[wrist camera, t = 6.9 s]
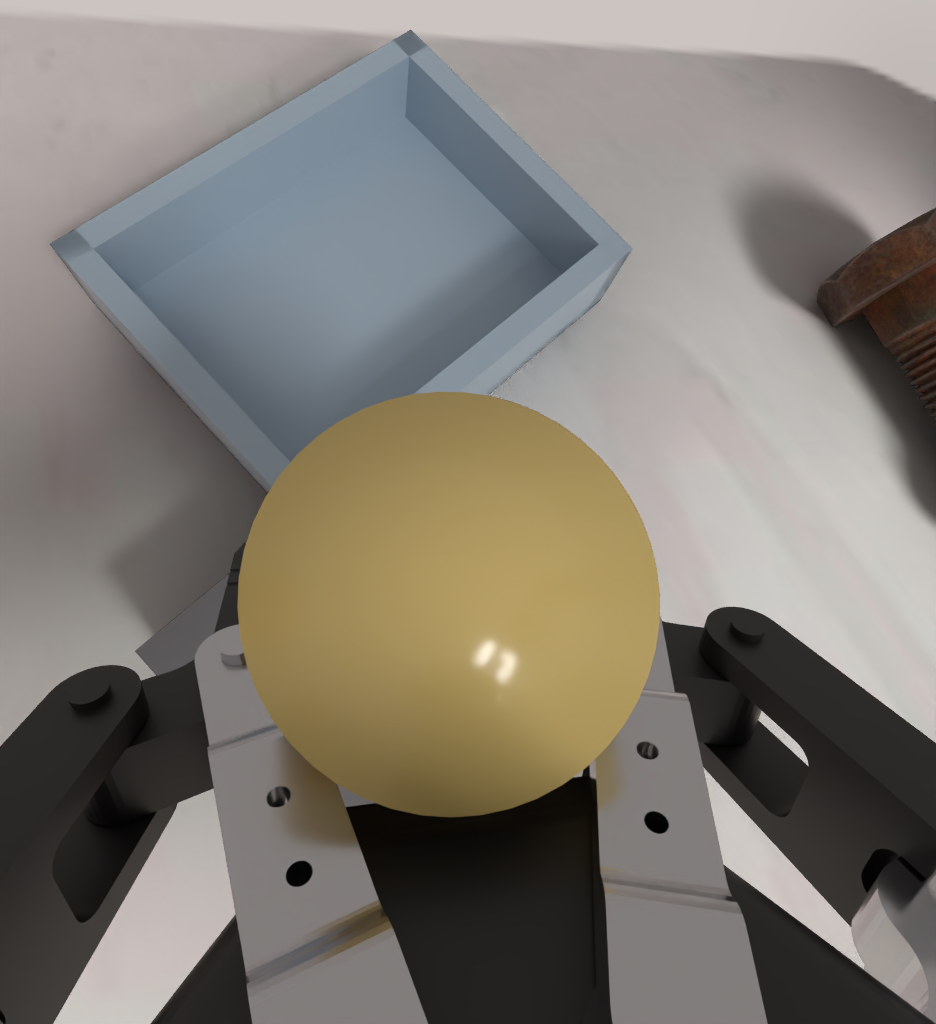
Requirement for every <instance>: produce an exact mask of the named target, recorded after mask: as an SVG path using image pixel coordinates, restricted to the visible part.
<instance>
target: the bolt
mask: <svg viewBox="0 0 936 1024" xmlns="http://www.w3.org/2000/svg"><path fill="white" fill-rule="evenodd" d="M817 303H818V304H819V306H820V308H821V309H822V311H823V312H824V314H825V316H826V317H827V319H828V321H829V322H830V324H831V325H832V327H833V328H834V327H837V326H839V325H841V324H844V323H846V322H848V321H850V320H852V319H855V318H857V317H859V316H861V315H865V317H866V318H867V320H868V322H869V323H870V325H871V327H872V328H873V330H874V332H875V333H876V335H877V336H878V338H879V340H880V341H881V343H882V345H883V346H884V347H885V348H887V349H889V351H890V352H891V354H892V355H895V356H897V358H896V362H901V363H904V364H903V365H902V366H901V367H900V369H901V370H909V372H908V373H907V374H906V375H905V377H906V378H914V379H913V380H912V381H911V382H910V385H919V386H918V387H917V388H916V389H915V392H917V393H923V394H922V396H921V397H920V398H919V399H920V400H926V401H928V402H927V403H926V405H925V406H924V407H925V408H927V409H933V411H932V412H931V413H930V414H929V416H930V417H936V208H934V209H933V210H931V211H929V212H927V213H925V214H923V215H921V216H919V217H917V218H915V219H914V220H912V221H910V222H908V223H907V224H905V225H903V226H902V227H900V228H898V229H897V230H895V231H893V232H891V233H890V234H888V235H886V236H885V237H883V238H881V239H880V240H878V241H876V242H875V243H873V244H872V245H870V246H869V247H868V248H866V249H865V250H864V251H862V252H861V253H860V254H858V255H857V256H856V257H854V258H853V259H851V260H850V261H849V262H847V263H846V264H845V265H843V266H842V267H841V268H840V269H838V270H837V271H836V272H835V273H834V274H833V275H832V276H830V277H829V278H828V279H827V280H826V281H825V282H824V283H822V284H821V285H820V287H819V290H818V295H817ZM934 425H936V421H935V422H934Z"/></svg>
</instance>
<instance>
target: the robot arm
mask: <svg viewBox="0 0 936 1024" xmlns="http://www.w3.org/2000/svg"><path fill="white" fill-rule="evenodd" d="M246 542H247V541H246ZM246 542H245V543H244V544H243V545H242V546H241V547H240V548H239V549H238V550H237V551H236V553H235V554H234V558H233V562H232V566H231V573H229V577H228V581H227V586H226V589H225V593H224V597H223V600H222V604H221V608H220V612H219V616H218V620H217V623H216V627H215V631H214V634H212V635H211V636H210V637H208V638H207V639H206V640H205V641H204V642H203V643H202V644H201V645H200V647H199V648H198V650H197V652H196V654H195V659H194V660H192V661H191V662H189V663H187V664H186V665H184V666H182V667H180V668H178V669H175V670H173V671H170V672H167V673H164V674H161V675H158V676H154V677H151V678H148V679H145V680H142V681H141V680H140V678H139V676H138V675H137V674H136V672H134V671H133V670H131V669H129V668H127V667H123V666H118V665H107V666H99V667H94V668H91V669H87V670H84V671H82V672H79V673H77V674H75V675H73V676H71V677H69V678H68V679H66V680H64V681H63V682H61V683H60V684H59V685H58V686H56V687H55V688H54V689H53V690H52V691H51V692H50V693H49V694H48V695H47V696H46V697H45V698H44V699H43V701H42V702H41V703H40V704H39V705H38V706H37V707H36V708H35V709H34V710H33V711H32V713H31V714H30V715H29V716H28V717H27V718H26V719H25V720H24V721H23V722H22V723H21V725H20V726H19V727H18V728H17V729H16V730H15V731H14V732H13V733H12V734H11V736H10V737H9V738H8V739H7V740H6V741H5V742H4V743H3V744H2V745H1V746H0V1024H53V1023H54V1021H55V1019H56V1017H57V1016H58V1014H59V1012H60V1010H61V1009H62V1007H63V1005H64V1003H65V1002H66V1000H67V998H68V997H69V995H70V993H71V991H72V990H73V988H74V986H75V984H76V983H77V981H78V979H79V977H80V976H81V974H82V972H83V970H84V969H85V967H86V965H87V963H88V962H89V960H90V958H91V956H92V955H93V953H94V951H95V949H96V948H97V946H98V944H99V942H100V941H101V939H102V937H103V935H104V934H105V932H106V930H107V928H108V927H109V925H110V923H111V922H112V920H113V918H114V916H115V915H116V913H117V911H118V909H119V908H120V906H121V904H122V902H123V901H124V899H125V897H126V895H127V894H128V892H129V890H130V888H131V887H132V885H133V883H134V881H135V880H136V878H137V876H138V874H139V873H140V871H141V869H142V867H143V866H144V864H145V862H146V860H147V859H148V857H149V855H150V853H151V852H152V850H153V848H154V846H155V845H156V843H157V841H158V840H159V838H160V836H161V834H162V833H163V831H164V829H165V827H166V826H167V824H168V822H169V820H170V819H171V817H172V815H173V813H174V811H175V809H176V806H177V803H178V802H181V801H183V800H186V799H188V798H191V797H193V796H196V795H198V794H201V793H203V792H205V791H208V790H210V789H213V788H214V792H215V797H216V803H217V809H218V815H219V821H220V826H221V832H222V838H223V844H224V849H225V855H226V861H227V867H228V872H229V878H230V884H231V890H232V895H233V901H234V907H235V913H236V914H235V916H234V917H233V918H232V920H231V921H230V922H229V923H228V925H227V926H226V927H225V929H224V930H223V931H222V932H221V934H220V935H219V936H218V938H217V939H216V940H215V942H214V943H213V944H212V945H211V947H210V948H209V949H208V951H207V952H206V953H205V954H204V956H203V957H202V958H201V960H200V961H199V962H198V963H197V965H196V966H195V967H194V969H193V970H192V971H191V972H190V974H189V975H188V976H187V978H186V979H185V980H184V981H183V983H182V984H181V985H180V987H179V988H178V989H177V990H176V992H175V993H174V994H173V996H172V997H171V998H170V1000H169V1001H168V1002H167V1003H166V1005H165V1006H164V1007H163V1009H162V1010H161V1011H160V1012H159V1014H158V1015H157V1016H156V1018H155V1019H154V1020H153V1021H152V1023H151V1024H936V743H935V742H933V741H932V740H931V739H930V738H928V737H927V736H926V735H924V734H923V733H922V732H920V731H919V730H918V729H916V728H915V727H914V726H912V725H911V724H910V723H908V722H907V721H906V720H904V719H903V718H902V717H900V716H899V715H898V714H896V713H895V712H894V711H892V710H891V709H890V708H888V707H887V706H886V705H884V704H883V703H882V702H880V701H879V700H878V699H876V698H875V697H874V696H872V695H871V694H870V693H868V692H867V691H866V690H864V689H863V688H862V687H860V686H859V685H858V684H856V683H855V682H854V681H852V680H851V679H850V678H849V677H847V676H846V675H845V674H843V673H842V672H841V671H839V670H838V669H837V668H835V667H834V666H833V665H831V664H830V663H829V662H827V661H826V660H825V659H823V658H822V657H821V656H819V655H818V654H817V653H815V652H814V651H813V650H811V649H810V648H809V647H807V646H806V645H805V644H803V643H802V642H801V641H799V640H798V639H797V638H795V637H794V636H793V635H791V634H790V633H789V632H787V631H786V630H785V629H783V628H782V627H781V626H779V625H778V624H777V623H775V622H774V621H773V620H771V619H770V618H768V617H766V616H765V615H763V614H760V613H758V612H756V611H753V610H749V609H745V608H740V607H724V608H720V609H717V610H714V611H713V612H711V613H710V614H709V616H708V617H707V620H706V623H705V626H704V628H701V627H694V626H687V625H680V624H673V623H667V622H663V621H662V620H661V617H660V623H659V630H658V637H657V644H656V650H655V654H654V658H653V661H652V665H651V669H650V672H649V676H648V678H647V681H646V683H645V686H644V688H643V690H642V693H641V695H640V698H639V700H638V702H637V704H636V705H635V707H634V709H633V711H632V712H631V714H630V716H629V717H628V719H627V721H626V723H625V724H624V726H623V727H622V728H621V730H620V731H619V732H618V734H617V735H616V736H615V737H614V739H613V740H612V741H611V743H610V744H609V745H608V746H607V748H606V749H605V750H604V751H603V752H602V753H601V754H600V755H599V756H598V757H596V758H595V759H594V760H593V761H592V762H591V763H590V764H589V765H588V766H587V767H586V768H585V769H584V770H582V771H581V772H580V773H578V774H577V775H575V776H574V777H573V778H571V779H570V780H569V781H567V782H566V783H565V784H563V785H562V786H560V787H558V788H556V789H554V790H552V791H551V792H549V793H547V794H545V795H543V796H541V797H539V798H538V799H535V800H532V801H530V802H527V803H524V804H522V805H519V806H516V807H514V808H511V809H507V810H502V811H498V812H493V813H489V814H484V815H477V816H463V817H438V816H424V815H417V814H413V813H408V812H404V811H399V810H394V809H390V808H388V807H385V806H382V805H380V804H377V803H373V804H365V805H357V806H350V807H345V805H344V802H343V799H342V796H341V793H340V791H339V788H338V785H337V784H336V783H335V782H333V781H332V780H331V779H329V778H328V777H327V776H325V775H324V774H323V773H321V772H320V771H319V770H317V769H316V768H315V767H313V766H312V765H311V764H310V763H309V762H308V761H307V760H306V759H305V758H304V757H303V756H302V755H301V754H300V753H299V752H298V751H297V750H296V749H295V748H294V747H293V746H292V745H291V744H290V743H289V741H288V740H287V739H286V737H285V736H284V735H283V733H282V732H281V731H280V729H279V728H278V727H277V726H276V724H275V723H274V722H273V720H272V719H271V717H270V715H269V713H268V711H267V710H266V708H265V706H264V704H263V702H262V700H261V699H260V697H259V695H258V693H257V691H256V688H255V685H254V683H253V680H252V678H251V675H250V672H249V670H248V667H247V664H246V660H245V655H244V651H243V647H242V642H241V638H240V630H239V619H238V608H237V606H238V584H239V574H240V569H241V563H242V558H243V552H244V548H245V545H246ZM761 711H763V712H764V713H765V714H766V715H767V716H768V717H770V718H771V719H772V720H773V721H774V722H775V723H776V724H777V725H778V726H780V727H781V728H782V729H783V730H784V731H785V732H786V733H787V734H788V735H789V736H791V737H792V738H793V739H794V740H795V741H796V742H797V743H798V744H799V745H800V747H801V748H802V749H803V751H804V753H805V755H806V757H807V759H808V763H809V767H808V766H807V765H806V764H805V763H804V762H803V761H802V760H801V759H800V758H799V757H797V756H796V755H795V754H794V753H793V752H792V751H791V750H790V749H789V748H788V747H787V746H786V745H784V744H783V743H782V742H781V741H780V740H779V739H778V738H777V737H776V736H775V735H774V734H773V733H771V732H770V731H769V730H768V729H767V728H766V727H765V726H764V725H763V724H762V723H761V722H760V721H758V719H759V716H760V713H761ZM703 767H704V768H705V769H706V770H707V771H708V773H709V774H710V775H711V776H712V777H713V778H714V779H715V780H716V781H717V782H718V783H719V784H720V786H721V787H722V788H723V789H724V790H725V791H726V792H727V793H728V794H729V795H730V796H731V797H732V799H733V800H734V801H735V802H736V803H737V804H738V805H739V806H740V807H741V808H742V809H743V811H744V812H745V813H746V814H747V815H748V816H749V817H750V818H751V819H752V820H753V821H754V822H755V824H756V825H757V826H758V827H759V828H760V829H761V830H762V831H763V832H764V833H765V834H766V835H767V837H768V838H769V839H770V840H771V841H772V842H773V843H774V844H775V845H776V846H777V847H778V848H779V850H780V851H781V852H782V853H783V854H784V855H785V856H786V857H787V858H788V859H789V860H790V861H791V863H792V864H793V865H794V866H795V867H796V868H797V869H798V870H799V871H800V872H801V873H802V874H803V876H804V877H805V878H806V879H807V880H808V881H809V882H810V883H811V884H812V885H813V886H814V888H815V889H816V890H817V891H818V892H819V893H820V894H821V895H822V896H823V897H824V898H825V899H826V901H827V902H828V903H829V904H830V905H831V906H832V907H833V908H834V909H835V910H836V911H837V912H838V914H839V915H840V916H841V917H842V918H843V919H844V920H845V921H846V922H847V923H848V924H849V925H850V927H851V930H852V937H853V941H854V944H855V947H856V949H857V952H858V954H859V956H860V958H861V959H862V961H863V963H864V964H865V966H864V970H863V969H862V968H861V967H859V966H858V965H857V964H855V963H854V962H853V961H851V960H850V959H849V958H847V957H846V956H845V955H843V954H842V953H841V952H839V951H838V950H837V949H835V948H834V947H833V946H831V945H830V944H829V943H827V942H826V941H825V940H823V939H822V938H821V937H819V936H818V935H817V934H815V933H814V932H813V931H811V930H810V929H809V928H807V927H806V926H805V925H803V924H802V923H801V922H799V921H798V920H797V919H795V918H794V917H793V916H791V915H790V914H789V913H787V912H786V911H785V910H783V909H782V908H781V907H779V906H778V905H777V904H775V903H774V902H773V901H771V900H770V899H769V898H767V897H766V896H765V895H763V894H762V893H761V892H759V891H758V890H757V889H755V888H754V887H753V886H751V885H750V884H749V883H747V882H746V881H745V880H743V879H742V878H741V877H739V876H738V875H737V874H735V873H734V872H733V871H731V870H730V869H729V868H727V867H726V866H725V865H723V861H722V856H721V851H720V846H719V842H718V837H717V832H716V827H715V822H714V818H713V813H712V808H711V803H710V798H709V793H708V789H707V784H706V779H705V774H704V769H703Z"/></svg>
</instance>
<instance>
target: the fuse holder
mask: <svg viewBox="0 0 936 1024" xmlns="http://www.w3.org/2000/svg"><path fill="white" fill-rule="evenodd" d="M230 573H231V572H230ZM228 577H229V574H228V575H227V576H226V577H224V578H223V579H222V580H221V581H220V582H218V583H217V584H216V585H215V586H213V587H212V588H211V589H210V590H209V591H207V592H206V593H205V594H204V595H203V596H201V597H200V598H199V599H198V600H196V601H195V602H194V603H193V604H192V605H190V606H189V607H188V608H187V609H186V610H184V611H183V612H182V613H181V614H179V615H178V616H177V617H176V618H175V619H173V620H172V621H171V622H170V623H168V624H167V625H166V626H165V627H164V628H162V629H161V630H160V631H159V632H158V633H156V634H155V635H154V636H153V637H151V638H150V639H149V640H148V641H147V642H145V643H144V644H143V645H142V646H141V647H139V648H138V649H137V650H136V651H135V652H136V653H137V654H138V655H139V656H140V657H141V659H142V660H143V661H144V662H145V663H146V664H147V665H148V667H149V668H150V669H151V670H152V671H153V672H154V673H155V675H156V676H158V675H161V674H164V673H167V672H170V671H173V670H175V669H178V668H180V667H182V666H184V665H186V664H187V663H189V662H191V661H192V660H194V659H195V654H196V652H197V650H198V648H199V647H200V645H201V644H202V643H203V642H204V641H205V640H206V639H207V638H208V637H210V636H211V635H212V634H214V631H215V627H216V623H217V620H218V616H219V612H220V608H221V604H222V600H223V597H224V593H225V589H226V586H227V581H228ZM337 785H338V784H337ZM338 788H339V791H340V793H341V796H342V799H343V802H344V805H345V807H350V806H357V805H365V804H373V803H374V802H372V801H369V800H366V799H364V798H362V797H360V796H358V795H356V794H354V793H352V792H351V791H349V790H347V789H345V788H343V787H341V786H340V785H338Z"/></svg>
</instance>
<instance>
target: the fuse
mask: <svg viewBox="0 0 936 1024" xmlns="http://www.w3.org/2000/svg"><path fill="white" fill-rule="evenodd" d="M237 608H238V619H239V630H240V638H241V642H242V647H243V651H244V655H245V660H246V664H247V667H248V670H249V672H250V675H251V678H252V680H253V683H254V685H255V688H256V691H257V693H258V695H259V697H260V699H261V700H262V702H263V704H264V706H265V708H266V710H267V711H268V713H269V715H270V717H271V719H272V720H273V722H274V723H275V724H276V726H277V727H278V728H279V729H280V731H281V732H282V733H283V735H284V736H285V737H286V739H287V740H288V741H289V743H290V744H291V745H292V746H293V747H294V748H295V749H296V750H297V751H298V752H299V753H300V754H301V755H302V756H303V757H304V758H305V759H306V760H307V761H308V762H309V763H310V764H311V765H312V766H313V767H315V768H316V769H317V770H319V771H320V772H321V773H323V774H324V775H325V776H327V777H328V778H329V779H331V780H332V781H333V782H335V783H336V784H338V785H340V786H341V787H343V788H345V789H347V790H349V791H351V792H352V793H354V794H356V795H358V796H360V797H362V798H364V799H366V800H369V801H372V802H374V803H377V804H380V805H382V806H385V807H388V808H390V809H394V810H399V811H404V812H408V813H413V814H417V815H424V816H438V817H463V816H477V815H484V814H489V813H493V812H498V811H502V810H507V809H511V808H514V807H516V806H519V805H522V804H524V803H527V802H530V801H532V800H535V799H538V798H539V797H541V796H543V795H545V794H547V793H549V792H551V791H552V790H554V789H556V788H558V787H560V786H562V785H563V784H565V783H566V782H567V781H569V780H570V779H571V778H573V777H574V776H575V775H577V774H578V773H580V772H581V771H582V770H584V769H585V768H586V767H587V766H588V765H589V764H590V763H591V762H592V761H593V760H594V759H595V758H596V757H598V756H599V755H600V754H601V753H602V752H603V751H604V750H605V749H606V748H607V746H608V745H609V744H610V743H611V741H612V740H613V739H614V737H615V736H616V735H617V734H618V732H619V731H620V730H621V728H622V727H623V726H624V724H625V723H626V721H627V719H628V717H629V716H630V714H631V712H632V711H633V709H634V707H635V705H636V704H637V702H638V700H639V698H640V695H641V693H642V690H643V688H644V686H645V683H646V681H647V678H648V676H649V672H650V669H651V665H652V661H653V658H654V654H655V650H656V644H657V637H658V630H659V623H660V593H659V584H658V575H657V568H656V564H655V559H654V555H653V551H652V547H651V543H650V540H649V538H648V535H647V532H646V530H645V527H644V524H643V522H642V519H641V517H640V515H639V513H638V511H637V509H636V507H635V505H634V504H633V502H632V500H631V498H630V496H629V494H628V493H627V491H626V490H625V489H624V487H623V486H622V484H621V483H620V481H619V480H618V478H617V477H616V475H615V474H614V473H613V472H612V471H611V469H610V468H609V467H608V466H607V465H606V464H605V463H604V461H603V460H602V459H601V458H600V457H599V456H598V455H597V454H596V453H595V452H594V451H593V450H592V449H591V448H590V447H588V446H587V445H586V444H585V443H584V442H583V441H582V440H581V439H580V438H578V437H577V436H575V435H574V434H573V433H571V432H570V431H568V430H567V429H565V428H564V427H563V426H561V425H560V424H558V423H556V422H555V421H553V420H551V419H549V418H547V417H545V416H544V415H542V414H540V413H538V412H536V411H534V410H531V409H529V408H526V407H524V406H521V405H519V404H516V403H514V402H510V401H506V400H503V399H499V398H495V397H491V396H487V395H480V394H473V393H465V392H430V393H421V394H412V395H407V396H403V397H399V398H394V399H390V400H386V401H384V402H381V403H378V404H375V405H373V406H370V407H367V408H364V409H362V410H360V411H358V412H356V413H354V414H352V415H350V416H349V417H347V418H345V419H343V420H341V421H339V422H338V423H336V424H335V425H333V426H332V427H330V428H329V429H327V430H326V431H324V432H323V433H322V434H320V435H319V436H317V437H316V438H315V439H314V440H313V441H312V442H311V443H309V444H308V445H307V446H306V447H305V448H304V449H303V450H302V451H301V452H299V453H298V454H297V455H296V457H295V458H294V459H293V460H292V461H291V462H290V464H289V465H288V466H287V467H286V468H285V469H284V471H283V472H282V473H281V474H280V475H279V477H278V478H277V480H276V481H275V483H274V485H273V486H272V488H271V489H270V491H269V492H268V494H267V495H266V497H265V498H264V501H263V503H262V505H261V507H260V509H259V511H258V513H257V515H256V517H255V519H254V521H253V524H252V527H251V530H250V533H249V536H248V539H247V542H246V545H245V548H244V552H243V558H242V563H241V569H240V574H239V584H238V606H237Z"/></svg>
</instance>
